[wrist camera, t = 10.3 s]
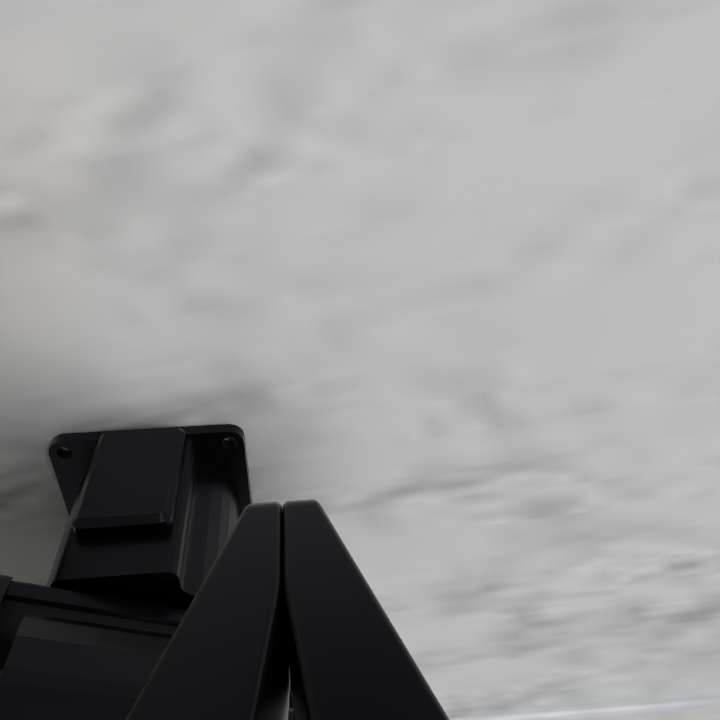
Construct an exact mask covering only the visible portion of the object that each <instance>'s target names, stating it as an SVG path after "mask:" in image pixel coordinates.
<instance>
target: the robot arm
mask: <svg viewBox="0 0 720 720" xmlns="http://www.w3.org/2000/svg"><path fill="white" fill-rule="evenodd" d="M227 437H231V438H234V439H235V440H233V441H227V440H225V438H227ZM61 447H66V448H68V449H70V451H67V450H64V449H62V448H61ZM49 455H50V458H51V461H52V464H53V468H54V471H55V474H56V477H57V480H58V483H59V486H60V489H61V492H62V495H63V498H64V501H65V504H66V507H67V510H68V513H69V516H70V517H69V520H68V523H67V526H66V529H65V532H64V535H63V538H62V541H61V544H60V547H59V550H58V553H57V556H56V559H55V562H54V565H53V568H52V571H51V574H50V576H49V579H48V582H47V585H46V586H42V585H36V584H30V583H24V582H18V581H12V577H9V576H3V575H0V720H449V718H448V717H447V715H446V713H445V712H444V710H443V708H442V707H441V705H440V703H439V702H438V700H437V698H436V697H435V695H434V693H433V692H432V690H431V688H430V687H429V685H428V683H427V682H426V680H425V678H424V677H423V675H422V673H421V672H420V670H419V668H418V667H417V665H416V663H415V662H414V660H413V658H412V657H411V655H410V653H409V652H408V650H407V648H406V647H405V645H404V643H403V642H402V640H401V638H400V637H399V635H398V633H397V632H396V630H395V628H394V627H393V625H392V623H391V622H390V620H389V618H388V617H387V615H386V613H385V612H384V610H383V608H382V607H381V605H380V603H379V602H378V600H377V598H376V597H375V595H374V593H373V592H372V590H371V588H370V587H369V585H368V583H367V582H366V580H365V578H364V577H363V575H362V573H361V572H360V570H359V568H358V567H357V565H356V563H355V562H354V560H353V558H352V557H351V555H350V553H349V552H348V550H347V548H346V547H345V545H344V543H343V542H342V540H341V538H340V537H339V535H338V533H337V532H336V530H335V528H334V527H333V525H332V523H331V522H330V520H329V518H328V517H327V515H326V513H325V512H324V510H323V508H322V507H321V505H320V504H319V503H318V502H317V501H316V500H300V501H288V502H286V503H284V505H283V510H282V506H281V504H279V503H278V502H271V503H256V504H252V498H251V489H250V480H249V471H248V462H247V453H246V444H245V435H244V432H243V430H242V429H241V428H240V427H238V426H236V425H230V424H226V425H209V426H191V427H174V428H157V429H139V430H122V431H105V432H88V433H70V434H61V435H58V436H56V437H55V438H54V439H53V441H52V443H51V445H50V448H49Z"/></svg>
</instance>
